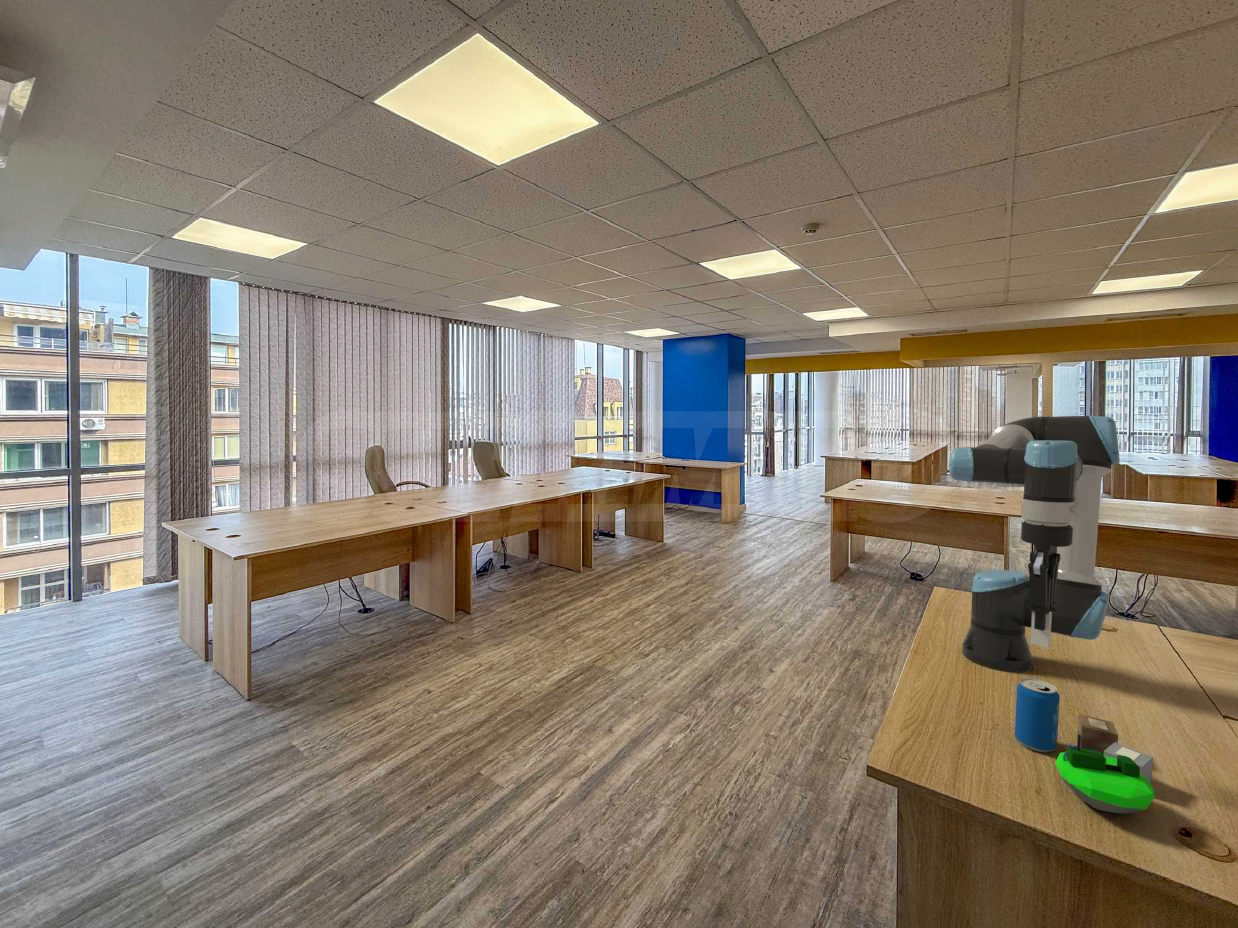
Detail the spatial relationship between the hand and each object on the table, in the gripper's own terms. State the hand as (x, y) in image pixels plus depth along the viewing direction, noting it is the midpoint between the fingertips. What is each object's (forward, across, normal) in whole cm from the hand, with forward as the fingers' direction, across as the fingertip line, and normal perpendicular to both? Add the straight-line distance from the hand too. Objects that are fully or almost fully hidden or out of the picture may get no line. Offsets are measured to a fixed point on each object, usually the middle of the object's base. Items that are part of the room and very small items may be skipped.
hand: (1040, 644), depth 101 cm
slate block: (+20, 0, -13) cm, 24 cm away
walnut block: (+20, +8, -8) cm, 23 cm away
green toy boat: (+21, -11, -11) cm, 26 cm away
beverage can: (+20, +1, 0) cm, 20 cm away
